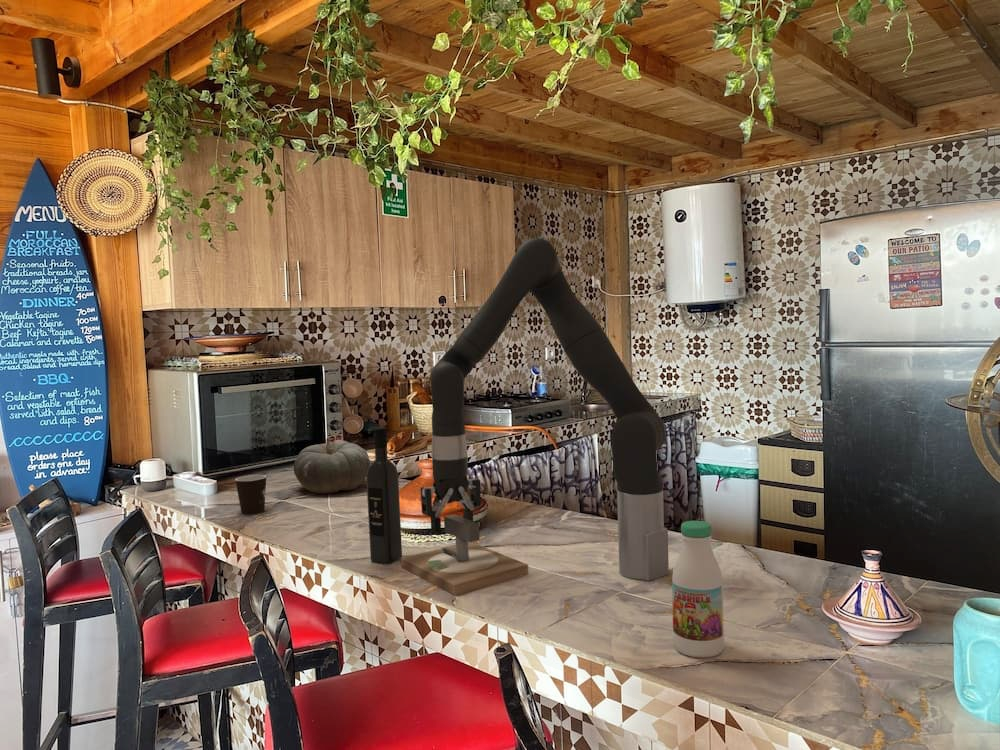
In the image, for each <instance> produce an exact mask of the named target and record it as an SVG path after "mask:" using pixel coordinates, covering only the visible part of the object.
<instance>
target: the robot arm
mask: <svg viewBox="0 0 1000 750" xmlns="http://www.w3.org/2000/svg"><path fill="white" fill-rule="evenodd" d="M529 292H531V293H532V295H533V296H534V297H535V299H536V300H537V302H538V303H539V304H540V306H541V307H542V309H543V311H545V313H546V316H547V317H548V319H549V322H550V324H551V327H552V330H553V331H554V333H555V336H556V338H557V339H558V341H559V344H560V345H561V347H562V349H563V351H564V353H565V355H566V356H567V358H568V359H569V361H570V363H571V364H572V366H573V367H574V369H575V370H576V371H577V373H578V374H579V375H580V376H581V377H582V379H584V381H586V382H587V384H589V385H590V386H591V387H592V388H593V389H594V390H595V391H596V392H597V393H598V394H599V395H600V396H601V397H602V398H603V399H604V400H605V401H606V403H607V404H608V406H609V407H610V409H611V411H612V413H613V414H614V416H615V418H616V419H617V420H616V421H615V422H614V424H613V427H612V430H611V459H612V472H613V476H614V479H615V482H616V491H617V498H616V499H617V528H618V529H617V532H618V533H617V535H618V536H617V537H618V539H617V540H618V564H619V565H618V569H619V573H620V575H622V576H624V577H626V578H629V579H634V580H645V581H651V580H655V579H658V578H660V577H664V576H666V575H669V572H670V570H669V569H670V567H669V561H670V560H669V530H668V528H667V527H665V525H664V524H665V523H664V522H665V520H664V519H665V518H664V517H665V516H664V481H663V477H662V475H661V474H660V472H659V470H658V458H657V455H658V454H657V451H659V450H660V449H661V447H662V446H663V445H664V443H665V441H666V437H667V436H666V435H667V432H666V425H665V423H664V421H663V420H662V418H661V417H660V415H659V414H658V413H657V411H656V410H655V409H654V407H653V406H652V405H651V403H650V402H649V401H648V400H647V398H646V397H645V396H644V395H643V393H642V392H641V390H640V389H639V388H638V386H637V385H636V383H635V381H634V380H633V378H632V377H631V375H630V373H629V370H627V368H626V366H625V364H624V362H623V360H622V359H621V358H620V356H619V354H618V353H617V351H616V349H615V347H614V346H613V343H612V342H611V340H610V339H609V337H608V336H607V334H606V333H605V331H604V329H603V328H602V326H601V325H600V323H599V322H598V320H597V319H596V318H595V316H594V315H593V314H592V313H591V312H590V311H589V309H587V307H586V306H584V304H583V303H582V302H581V300H579V298H578V297H577V295H575V293H574V292H573V290H572V288H571V286H570V284H569V282H568V280H567V279H566V276H565V274H564V272H563V270H562V268H561V264H560V261H559V257H558V254H557V251H556V249H555V247H554V246H553V244H552V243H551V242H550V241H548V239H544V238H541V237H532V238H529V239H527V240H525V241H524V242H523V243H521V244H520V246H519V247H518V249H517V250H516V252H515V253H514V255H513V257H512V259H511V261H510V263H509V264H508V266H507V268H506V269H505V271H504V274H503V275H502V277H501V278H500V280H499V282H498V283H497V285H496V286H495V288H494V289H493V291H492V292H491V294H490V295H489V296H488V297H487V299H486V300H485V302H484V304H483V305H482V306H481V307H480V309H479V310H478V311H477V312H476V314H475V315H474V316H473V317H472V319H471V320H470V321H469V322H468V324H467V325H466V326H465V328H464V329H463V330H462V331H461V332H460V334H459V336H458V337H457V339H456V340H455V341H454V342H453V344H452V346H451V347H450V348H449V349H448V350H447V351H446V352H445V354H444V355H442V357H441V358H440V360H438V362H437V363H436V364H434V366H433V368H432V369H431V371H430V374H429V383H430V390H431V391H430V392H431V393H430V394H431V404H432V405H431V406H432V413H431V435H432V439H431V458H432V459H431V462H432V477H433V483H432V486H428V487H426V486H422V487H420V490H419V491H420V503H421V504H420V505H421V514H422V515H425V516H426V517H430V530H431V532H432V533H433V534H434V535H436V536H438V535H441V534H442V524H441V523H442V522H441V520H442V519H441V517H440V516H441V514H442V513H443V510H444V509H445V508H446V506H447V504H451V503H453V502H459V503H460V504H461V505H462V507H463V508H464V509H463V510H462V511H463V512H462V513H463V514H462V515H463V516H462V518H465V519H468V520H471V521H474V510H475V508H477V507H480V506H481V505H482V498H481V497H482V496H481V494H482V491H481V480H480V479H478V478H474V477H471V478H470V479H469V478H468V475H469V469H468V468H469V466H468V464H469V463H468V446H467V445H468V443H467V439H466V429H465V428H466V425H465V424H466V422H465V414H464V402H465V401H464V398H465V397H464V396H465V395H464V394H465V379H466V378H467V377H468V375H469V374H470V372H471V371H472V370H473V369H474V367H475V366H476V365H478V364H479V363H480V362H481V361H482V360H483V359H484V358H485V356H487V354H488V353H489V351H491V349H492V348H493V347H494V345H495V344H496V343H497V341H498V340H499V339H500V338H501V336H502V334H503V332H504V331H505V329H506V327H507V326H508V324H509V322H510V320H511V319H512V316H513V314H514V313H515V311H516V309H517V308H518V306H520V303H521V302H522V301H523V300H524V299H525V297H526V295H528V293H529ZM468 488H469V494H470V495H468V494H467V492H466V491H467V490H468ZM434 493H435V497H434ZM432 497H434V499H433V498H432ZM432 499H433V500H432Z"/></svg>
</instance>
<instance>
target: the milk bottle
mask: <svg viewBox="0 0 1000 750" xmlns="http://www.w3.org/2000/svg"><path fill="white" fill-rule="evenodd" d="M680 533H681V535H680V538H682V545H681V548H680V552H679V554H678V557H677V558H676V560H675V562H674V566H673V570H672V577H671V578H672V583H671V585H672V588H671V593H672V595H671V596H672V597H671V598H672V605H671V606H672V640H673V646H674V648H675V650H676V651H677V652H679V653H680V654H683V655H685V656H688V657H692V658H701V659H702V658H704V659H705V658H712V657H716V656H719V655H720V654H722V652H723V650H724V647H725V646H724V645H725V637H724V636H725V630H724V629H725V627H724V626H725V624H724V621H725V620H724V589H723V577H722V571H721V568H720V565H719V562H718V561H717V558H716V557H715V554H714V552H713V550H712V545H711V539H712V533H713V531H712V524H711V523H709V522H707V521H704V520H703V521H701V520H687V521H683V522H682V523H681V525H680Z"/></svg>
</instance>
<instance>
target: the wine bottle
mask: <svg viewBox="0 0 1000 750" xmlns="http://www.w3.org/2000/svg"><path fill="white" fill-rule="evenodd" d="M387 430H388V428H387V426H386V427H385V426H378V427H374V428H373V429H372V433H373V440H374V441H373V442H374V456H375V457H374V460H373V462H371V465H370V466H369V468H368V470H367V476H366V478H365V479H366V480H365V481H366V495H367V496H366V497H367V514H368V533H369V554H370V561H371V562H373V561H374V562H373V563H378V562H380V564H385V565H386V564H387V565H389V564H392V563H394V562H396V561H397V560H399V559H400V560H401V558H403V544H402V527H401V526H402V525H401V523H402V522H401V508H400V507H401V506H400V505H401V504H400V487H399V485H400V483H399V473H398V469H397V467H396V465H395V463H394V462H392V461H391V460H389V458H388V444H387V443H388V441H387V439H388V435H387V434H388V431H387Z"/></svg>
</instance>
